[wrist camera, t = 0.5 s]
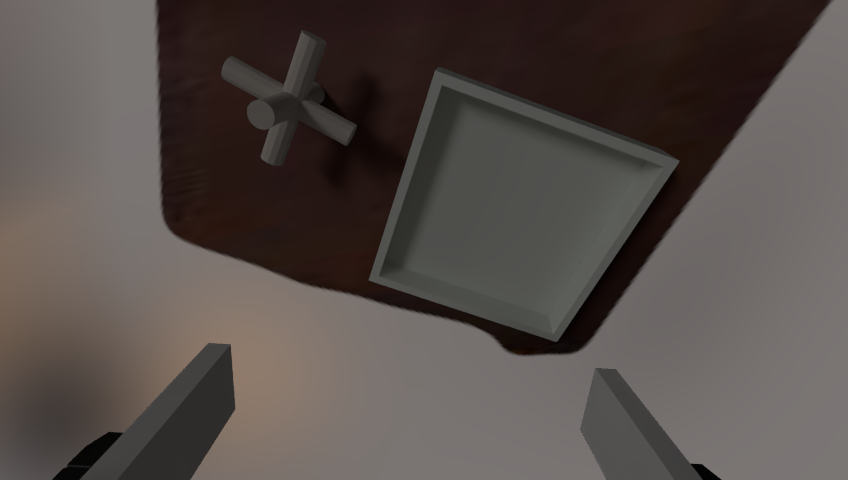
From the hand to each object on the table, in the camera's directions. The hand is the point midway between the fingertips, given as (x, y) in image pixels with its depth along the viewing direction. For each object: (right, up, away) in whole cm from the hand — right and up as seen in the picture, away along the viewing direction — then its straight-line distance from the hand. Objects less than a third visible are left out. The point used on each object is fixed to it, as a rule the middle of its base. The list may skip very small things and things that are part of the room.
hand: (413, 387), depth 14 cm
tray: (+8, +8, +23) cm, 26 cm away
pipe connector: (-9, +18, +20) cm, 28 cm away
